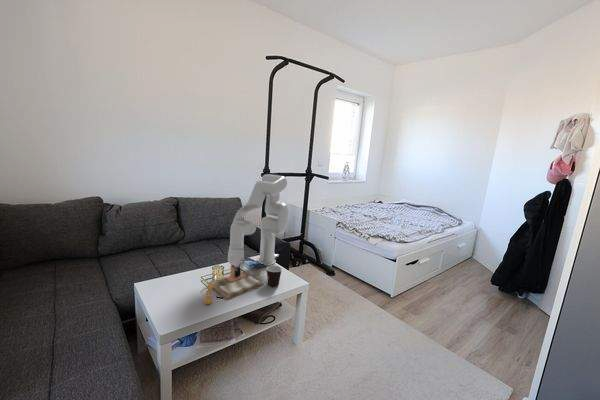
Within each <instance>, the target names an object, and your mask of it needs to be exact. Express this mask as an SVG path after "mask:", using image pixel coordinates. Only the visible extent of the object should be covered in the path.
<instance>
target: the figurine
mask: <svg viewBox="0 0 600 400" xmlns="http://www.w3.org/2000/svg"><path fill="white" fill-rule="evenodd" d="M210 283H211V282H209V283H208V284H207V285H206V287H204V288H202V290H200V292H199V294H201V293H202V292H204V290H206V289H207V290H206V291H205V295H206V296H205V297H204V299H203V302H204V304H205V305H211V303H213V297H212V292H213V289H212V288H216V287H214V286H211V284H210ZM216 289H217V288H216ZM217 290H218V289H217ZM208 293H209V295H208Z"/></svg>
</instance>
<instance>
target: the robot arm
mask: <svg viewBox="0 0 600 400" xmlns="http://www.w3.org/2000/svg"><path fill="white" fill-rule="evenodd" d="M287 185H288V180H287V178H286V177H285V176H283V175H277V174H269V173H267V174H263V175H262V176H261V180H258V181H256V182H255V184H254V185H253V189H252V191H251V193H250V197H249V199H248V201H247V202H246V203H245V204H244V205H242V207H240V208H239V209H238V210H237V212H236V214H235V215H234V218H233V221H232V224H231V225H230V232H229V233H230V234H229V246H228V253H227V263H229V264H230V268H231V267H232V266H235V267H236V270H235V277H238V276H240V270H241V271H242V269H244V263H245V252H244V251H245V250H244V245H245V243H244V242H245V241H244V240H245V236H249V235H250V236H251V235H253V234H254V233H255V232H256V230H257V225H256V223H254V222H252V221H249V220H245V219H244V218H245V216H246V215H247V214H249V213H251V212H253V211H256V210H259V209H261V208H262V206H263V204H264V201H265V205H264V212H265V214H267V215H268V216H264V217H262V218H261V220H260V223H259V225H260V247H259V257H258V258H257V259H256V260H257V261H258V262H260V263H262V264H264V265H263V266H271V265H275V264H277V263H276V261H277V260H276V258H278V257H279V256H280V254H278V253H276V254H275V247H276V246H275V245H276V236H275V235H276V234H277V235H282V234H284V232H285V231H286V229H287V224H288V218H289V217H288V215H289V207H288V204H286V203H284V202H280V197H281V194H280V193H281V192H283V190H285V189H286V188H287ZM272 216H273V217H272ZM276 217H277V218H276ZM258 262H257V263H258ZM238 266H239V267H238Z"/></svg>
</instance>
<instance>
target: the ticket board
mask: <svg viewBox="0 0 600 400" xmlns="http://www.w3.org/2000/svg"><path fill="white" fill-rule="evenodd" d="M241 273H242V274H244V275H245V276H246V277H245V278H242V279H239V280H236V281H234V282H229V281H228V280H227V279H225V277H224V278H222V279H217V280H215V281H212V282H209V283H210V284H211V286H214V287H216V288H217V289H218V290H217V289H216V288H212V289H211V290H212V291H214V292H216V293H218V295H219V296H221V297H223V298H224V300H226V301H227V300H230V299H232V298H235V297H238V296H240V295H242V294H245V293H247V292H249V291H252V290H255V289H258V288H260V287H263V286H264V282H263V281H261V280H260V279H258V278H256V277H255V276H253V275H251V274H250V273H248V272H247V271H241Z"/></svg>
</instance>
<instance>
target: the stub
mask: <svg viewBox="0 0 600 400" xmlns="http://www.w3.org/2000/svg"><path fill="white" fill-rule="evenodd" d="M238 267H239V266H238ZM235 270H236V267H235V266H232V267H231V266H230V274H227V275H224V278H225V279H227V280H228V281H229V282H234V281H236V280H239V279H242V278H245V277H246V276H245V275H244V274H242V273H241V272H242V269H241V270H240V276H238V277H235Z"/></svg>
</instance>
